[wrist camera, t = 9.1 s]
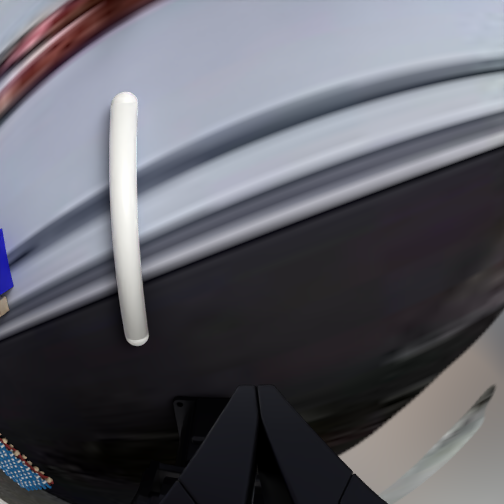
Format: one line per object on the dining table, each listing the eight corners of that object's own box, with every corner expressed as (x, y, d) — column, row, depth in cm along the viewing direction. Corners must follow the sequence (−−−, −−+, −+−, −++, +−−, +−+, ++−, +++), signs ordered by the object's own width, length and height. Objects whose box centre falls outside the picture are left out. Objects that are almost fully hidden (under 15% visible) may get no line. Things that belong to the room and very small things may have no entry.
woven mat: (-2, 425, 24) (-9, 435, 22) (58, 478, 27) (53, 489, 25) (-21, 437, 25) (-27, 445, 23) (29, 483, 28) (25, 492, 26)
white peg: (152, 338, 20) (146, 351, 18) (130, 337, 20) (123, 349, 18) (142, 93, 16) (133, 87, 14) (117, 96, 16) (107, 91, 14)
